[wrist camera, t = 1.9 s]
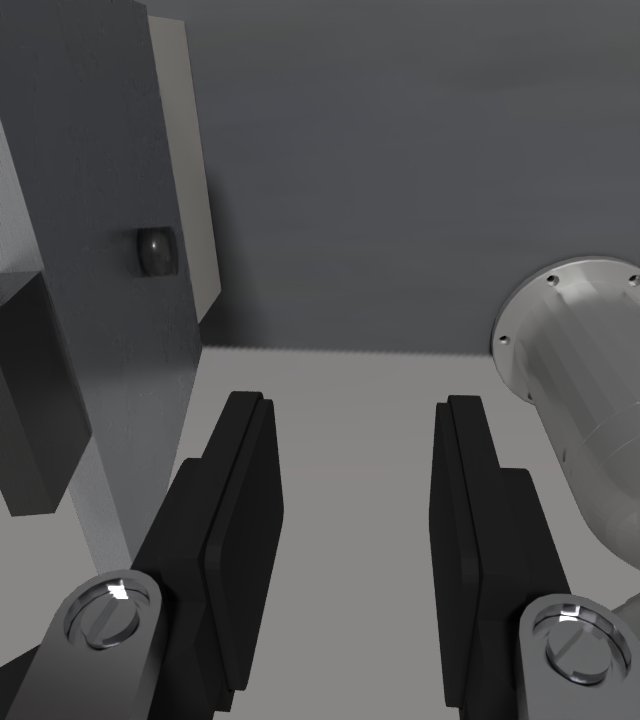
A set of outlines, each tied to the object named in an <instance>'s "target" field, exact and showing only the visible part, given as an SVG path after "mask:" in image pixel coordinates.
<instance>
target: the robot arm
mask: <svg viewBox="0 0 640 720" xmlns="http://www.w3.org/2000/svg"><path fill="white" fill-rule="evenodd" d="M552 275H553V277H552V278H551V279H549V280H547V278H548V277H549V276H552ZM633 275H634V276H633ZM632 276H633V278H631V279H630V277H632ZM502 336H505V337H504V338H501V337H502ZM491 349H492V355H493V360H494V363H495V366H496V369H497V371H498V373H499V375H500V376H501V378H502V380H503V382H504V383H505V384H506V385H507V387H508V388H509V389H510V390H511V391H512V392H513V393H514V394H516V395H517V396H518V397H520V398H521V399H522V400H524V401H526V402H528V403H530V404H533V405H535V406H536V409H537V411H538V414H539V416H540V418H541V421H542V423H543V426H544V428H545V430H546V433H547V435H548V437H549V440H550V442H551V444H552V447H553V449H554V451H555V454H556V456H557V458H558V461H559V463H560V465H561V468H562V470H563V473H564V475H565V477H566V480H567V482H568V484H569V487H570V489H571V491H572V494H573V496H574V498H575V501H576V503H577V505H578V508H579V510H580V512H581V515H582V516H583V518H584V520H585V522H586V523H587V525H588V527H589V528H590V530H591V531H592V532H593V534H594V535H595V536H596V537H597V539H598V540H599V541H600V542H601V543H602V544H603V545H604V546H605V547H606V548H608V549H609V550H610V551H611V552H612V553H613V554H615V555H616V556H617V557H619V558H620V559H622V560H623V561H625V562H627V563H628V564H630V565H631V566H633V567H635V568H636V569H638V570H640V268H639V267H637V266H635V265H633V264H631V263H629V262H628V261H624V260H620V259H617V258H613V257H605V256H584V257H575V258H571V259H567V260H563V261H560V262H557V263H554V264H552V265H550V266H548V267H545V268H543V269H541V270H539V271H538V272H536V273H535V274H533V275H532V276H530V277H529V278H527V279H526V280H525V281H524V282H523V283H521V284H520V285H519V286H518V287H517V288H516V289H515V290H514V291H513V292H512V293H511V295H510V296H509V297H508V298H507V300H506V301H505V302H504V304H503V305H502V307H501V309H500V311H499V313H498V315H497V317H496V320H495V323H494V327H493V330H492V340H491ZM283 513H284V505H283V495H282V485H281V475H280V465H279V455H278V445H277V436H276V425H275V415H274V406H273V401H272V400H271V399H270V400H269V399H264V398H263V394H262V393H261V392H248V391H243V392H242V391H233V392H231V394H230V395H229V398H228V400H227V402H226V404H225V407H224V409H223V411H222V413H221V415H220V418H219V420H218V422H217V424H216V426H215V429H214V431H213V433H212V435H211V437H210V440H209V442H208V444H207V446H206V448H205V451H204V453H203V455H202V457H201V458H187V459H186V460H184V462H183V463H182V465H181V466H180V469H179V470H178V473H177V475H176V477H175V479H174V480H173V483H172V484H171V487H170V489H169V491H168V493H167V495H166V497H165V499H164V501H163V503H162V505H161V507H160V509H159V511H158V513H157V515H156V517H155V519H154V521H153V523H152V525H151V527H150V529H149V531H148V533H147V535H146V537H145V539H144V541H143V543H142V545H141V547H140V549H139V551H138V553H137V555H136V557H135V559H134V561H133V563H132V565H131V567H130V569H129V570H127V569H122V570H115V571H109V572H106V573H103V574H101V575H98V576H95V577H93V578H91V579H89V580H88V581H86V582H85V583H83V584H82V585H80V586H78V587H77V588H76V589H75V590H74V591H73V592H72V593H71V594H70V595H69V596H68V597H66V598H65V599H64V601H63V602H62V604H61V605H60V607H59V609H58V610H57V612H56V613H55V615H54V617H53V619H52V621H51V623H50V626H49V628H48V630H47V632H46V634H45V636H44V638H43V640H42V642H41V644H40V645H38V646H36V647H34V648H33V649H31V650H29V651H27V652H26V653H24V654H22V655H21V656H19V657H17V658H15V659H14V660H12V661H10V662H9V663H7V664H5V665H3V666H2V667H0V720H213V716H214V712H215V711H222V712H230V709H231V705H232V701H233V696H234V693H235V690H240V691H241V690H242V691H244V690H245V689H246V687H247V684H248V680H249V675H250V670H251V666H252V661H253V657H254V652H255V647H256V643H257V638H258V634H259V629H260V625H261V619H262V615H263V611H264V606H265V602H266V597H267V592H268V588H269V583H270V579H271V574H272V570H273V565H274V560H275V556H276V551H277V546H278V542H279V537H280V533H281V528H282V523H283ZM429 533H430V543H431V555H432V566H433V576H434V587H435V598H436V609H437V619H438V630H439V641H440V652H441V661H442V662H441V663H442V673H443V684H444V695H445V702H446V706H447V707H457V708H459V716H460V720H640V593H638V594H637V595H635V596H633V597H631V598H630V599H628V600H627V601H626V603H625V604H623V605H621V606H619V607H617V608H616V609H614V610H612V611H610V610H609V609H607V608H606V607H604V606H602V605H600V604H598V603H596V602H594V601H592V600H590V599H588V598H584V597H580V596H576V595H572V594H571V591H570V588H569V585H568V582H567V579H566V576H565V574H564V571H563V568H562V565H561V562H560V559H559V556H558V553H557V550H556V548H555V544H554V542H553V539H552V536H551V533H550V530H549V527H548V524H547V521H546V518H545V515H544V512H543V510H542V507H541V504H540V501H539V498H538V495H537V492H536V489H535V486H534V484H533V481H532V478H531V476H530V473H529V471H528V470H527V469H520V468H519V469H518V468H500V466H499V462H498V458H497V455H496V451H495V448H494V444H493V440H492V437H491V433H490V430H489V426H488V422H487V419H486V415H485V411H484V408H483V404H482V401H481V398H480V396H469V395H449V396H448V400H447V403H437V406H436V417H435V433H434V447H433V460H432V475H431V489H430V505H429Z"/></svg>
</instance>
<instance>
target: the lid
mask: <svg viewBox="0 0 640 720" xmlns="http://www.w3.org/2000/svg"><path fill="white" fill-rule="evenodd" d="M201 352H202V344H201V338H200V332H199V326H198V319H197V313H196V307H195V301H194V295H193V289H192V283H191V277H190V271H189V265H188V259H187V253H186V247H185V241H184V234H183V228H182V222H181V216H180V210H179V204H178V198H177V192H176V186H175V180H174V174H173V168H172V162H171V155H170V149H169V143H168V137H167V131H166V125H165V119H164V113H163V107H162V101H161V95H160V89H159V83H158V77H157V70H156V64H155V58H154V52H153V46H152V40H151V34H150V28H149V22H148V16H147V10H146V5H143V4H141V3H138V2H136V1H133V0H0V490H1V492H2V495H3V497H4V499H5V502H6V504H7V506H8V509H9V511H10V514H11V516H12V517H13V516H26V515H37V514H50V513H55V511H56V509H57V507H58V505H59V503H60V501H61V499H62V497H63V495H64V493H65V490H66V488H67V486H68V489H69V492H70V495H71V497H72V500H73V503H74V506H75V509H76V512H77V515H78V518H79V521H80V524H81V526H82V530H83V532H84V535H85V538H86V541H87V544H88V547H89V550H90V553H91V556H92V559H93V562H94V565H95V567H96V570H97V573H98V575H101V574H103V573H106V572H109V571H115V570H122V569H127V570H129V569H130V567H131V565H132V563H133V561H134V559H135V557H136V555H137V553H138V551H139V549H140V547H141V545H142V543H143V541H144V539H145V537H146V535H147V533H148V531H149V529H150V527H151V525H152V523H153V521H154V519H155V517H156V515H157V513H158V511H159V509H160V507H161V505H162V503H163V501H164V499H165V497H166V493H167V489H168V485H169V480H170V477H171V473H172V468H173V465H174V460H175V456H176V453H177V448H178V445H179V440H180V436H181V432H182V428H183V424H184V420H185V416H186V412H187V408H188V404H189V400H190V396H191V392H192V388H193V384H194V380H195V376H196V372H197V368H198V364H199V360H200V355H201Z"/></svg>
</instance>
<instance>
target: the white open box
mask: <svg viewBox="0 0 640 720" xmlns="http://www.w3.org/2000/svg"><path fill="white" fill-rule="evenodd" d="M148 22H149V28H150V34H151V40H152V46H153V52H154V58H155V64H156V70H157V77H158V83H159V89H160V95H161V101H162V107H163V113H164V119H165V125H166V131H167V137H168V143H169V149H170V155H171V162H172V168H173V174H174V180H175V186H176V192H177V198H178V204H179V210H180V216H181V222H182V228H183V234H184V241H185V247H186V253H187V259H188V265H189V271H190V277H191V283H192V289H193V295H194V301H195V307H196V313H197V319H198V324H199V323H200V321H201V320H202V318H203V317H204V315H205V314H206V313H207V311H208V310H209V308H210V307H211V305H212V304H213V302H214V301H215V299H216V298H217V297H218V295H219V294H220V292H221V284H220V277H219V270H218V263H217V255H216V248H215V241H214V234H213V226H212V219H211V212H210V205H209V197H208V190H207V183H206V176H205V168H204V161H203V154H202V147H201V139H200V132H199V125H198V118H197V110H196V103H195V96H194V89H193V81H192V74H191V67H190V60H189V53H188V45H187V38H186V31H185V24H184V21H179V20H172V19H166V18H160V17H153V16H148Z"/></svg>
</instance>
